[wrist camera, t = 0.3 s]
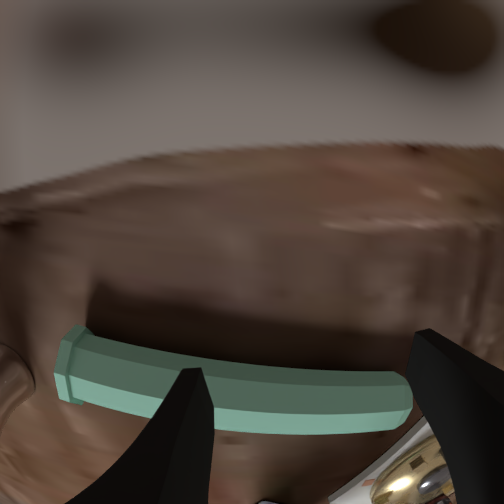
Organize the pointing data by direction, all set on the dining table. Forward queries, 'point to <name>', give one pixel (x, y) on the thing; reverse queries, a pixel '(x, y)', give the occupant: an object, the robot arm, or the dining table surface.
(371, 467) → the dial plate
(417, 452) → the brass round disc
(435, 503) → the supplement bottle
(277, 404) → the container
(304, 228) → the dining table surface
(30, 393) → the beer glass
